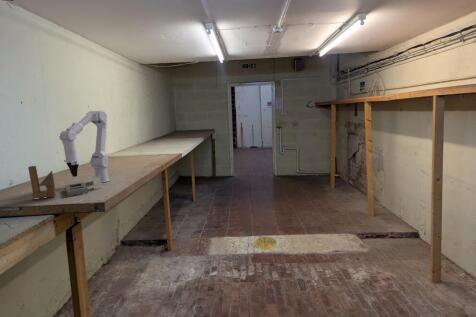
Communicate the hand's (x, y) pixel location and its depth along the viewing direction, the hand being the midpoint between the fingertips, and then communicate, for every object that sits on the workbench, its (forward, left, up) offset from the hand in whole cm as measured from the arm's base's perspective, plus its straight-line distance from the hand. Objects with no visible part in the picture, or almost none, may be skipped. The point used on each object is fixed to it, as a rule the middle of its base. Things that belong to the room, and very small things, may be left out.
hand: (74, 175), depth 191 cm
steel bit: (+2, +11, -9) cm, 15 cm away
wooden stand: (+2, -16, -10) cm, 19 cm away
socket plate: (+2, 0, -9) cm, 9 cm away
